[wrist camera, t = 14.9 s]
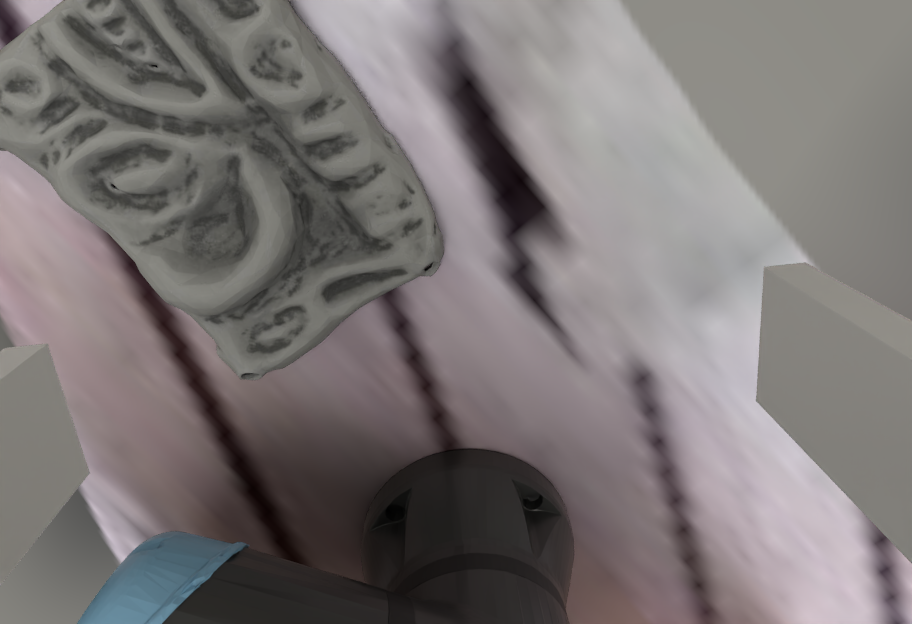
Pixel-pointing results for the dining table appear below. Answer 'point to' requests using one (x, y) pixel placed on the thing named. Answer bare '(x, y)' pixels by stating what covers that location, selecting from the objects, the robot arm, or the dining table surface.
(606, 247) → the dining table surface
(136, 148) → the wall plaque
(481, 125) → the dining table surface
